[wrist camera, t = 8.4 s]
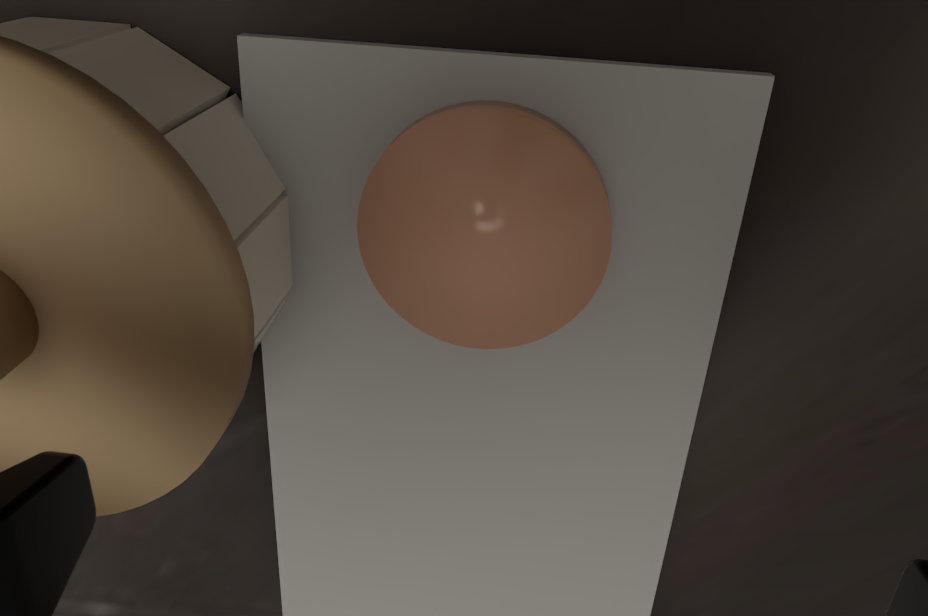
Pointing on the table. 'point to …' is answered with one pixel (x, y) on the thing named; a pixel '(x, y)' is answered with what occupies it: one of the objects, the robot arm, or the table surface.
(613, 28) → the table surface
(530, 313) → the pink glossy dome
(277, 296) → the bowl
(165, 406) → the lid
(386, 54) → the mat
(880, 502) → the table surface
